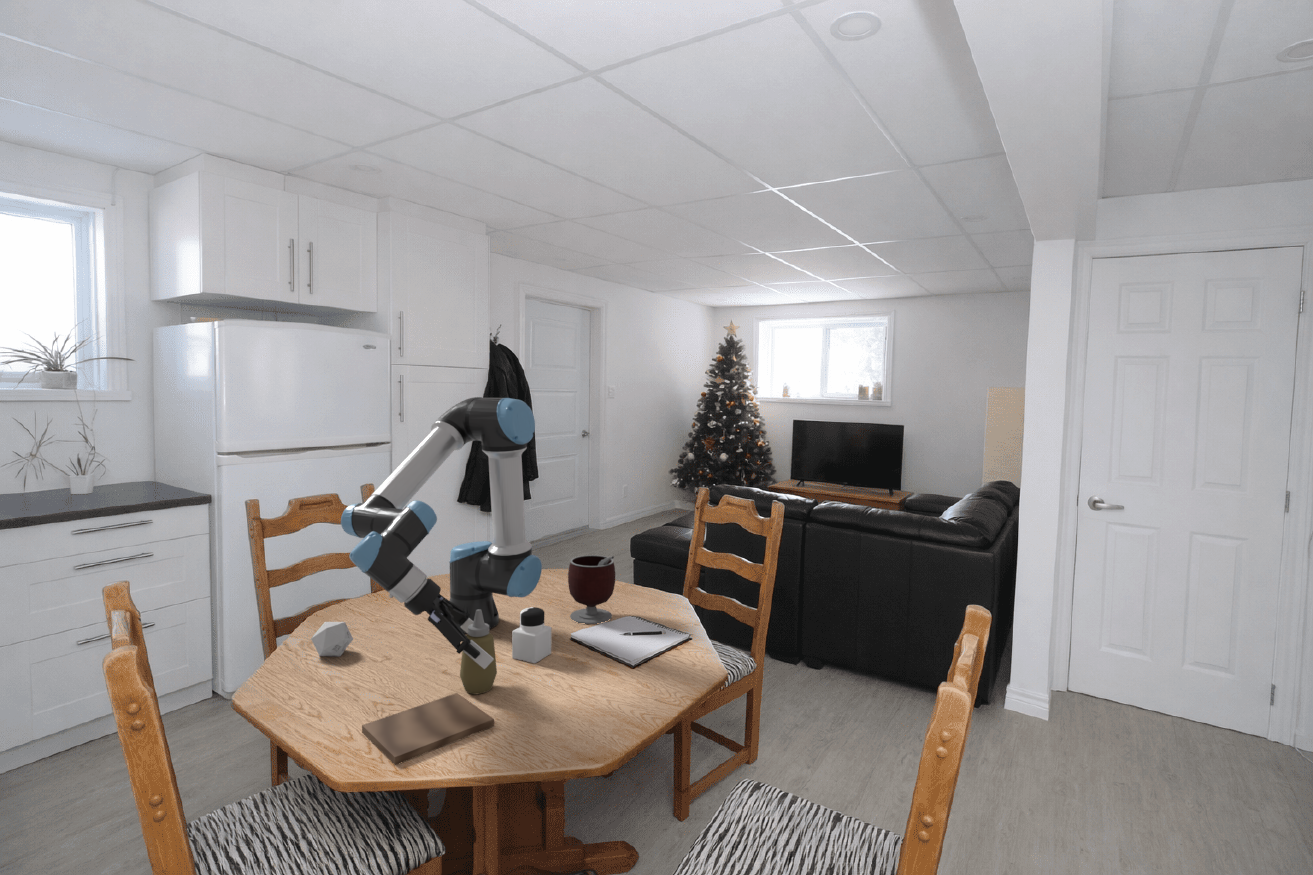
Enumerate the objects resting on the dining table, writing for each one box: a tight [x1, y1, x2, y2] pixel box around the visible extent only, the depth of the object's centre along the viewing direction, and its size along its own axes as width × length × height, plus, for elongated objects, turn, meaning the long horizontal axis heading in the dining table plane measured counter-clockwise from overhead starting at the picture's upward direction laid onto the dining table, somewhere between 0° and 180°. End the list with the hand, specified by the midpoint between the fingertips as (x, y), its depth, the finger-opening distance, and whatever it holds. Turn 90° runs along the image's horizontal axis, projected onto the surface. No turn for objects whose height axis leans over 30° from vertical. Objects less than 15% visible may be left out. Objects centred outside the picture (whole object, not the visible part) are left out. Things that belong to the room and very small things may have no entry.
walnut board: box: [361, 692, 495, 766], centre depth 128 cm, size 20×15×2 cm
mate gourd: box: [567, 554, 616, 625], centre depth 192 cm, size 16×14×20 cm
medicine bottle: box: [511, 606, 552, 664], centre depth 164 cm, size 7×7×12 cm
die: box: [310, 621, 354, 657], centre depth 162 cm, size 8×9×10 cm
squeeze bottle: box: [459, 609, 498, 695], centre depth 145 cm, size 8×8×18 cm
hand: (487, 651), depth 146 cm, fingers open, 13 cm apart
